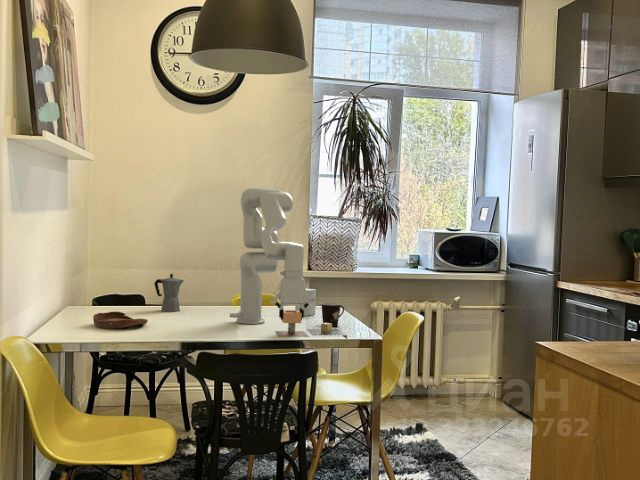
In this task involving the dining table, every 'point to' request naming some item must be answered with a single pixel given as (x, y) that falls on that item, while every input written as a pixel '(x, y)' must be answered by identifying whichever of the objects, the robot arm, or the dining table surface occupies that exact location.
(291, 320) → the collar
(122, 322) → the brown wooden bowl
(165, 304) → the coffeepot
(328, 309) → the coffee mug
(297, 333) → the stand
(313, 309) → the supplement box
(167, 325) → the dining table surface
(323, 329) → the base plate
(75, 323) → the dining table surface
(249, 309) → the robot arm
